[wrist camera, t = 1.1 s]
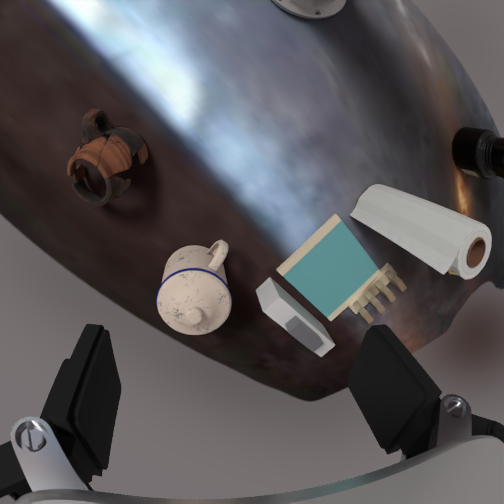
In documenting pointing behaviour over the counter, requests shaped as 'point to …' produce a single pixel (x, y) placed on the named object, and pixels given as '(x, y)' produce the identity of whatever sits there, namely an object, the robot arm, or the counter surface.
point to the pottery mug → (105, 156)
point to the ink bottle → (479, 152)
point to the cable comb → (374, 288)
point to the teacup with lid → (195, 289)
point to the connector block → (293, 317)
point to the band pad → (330, 268)
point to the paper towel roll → (426, 230)
